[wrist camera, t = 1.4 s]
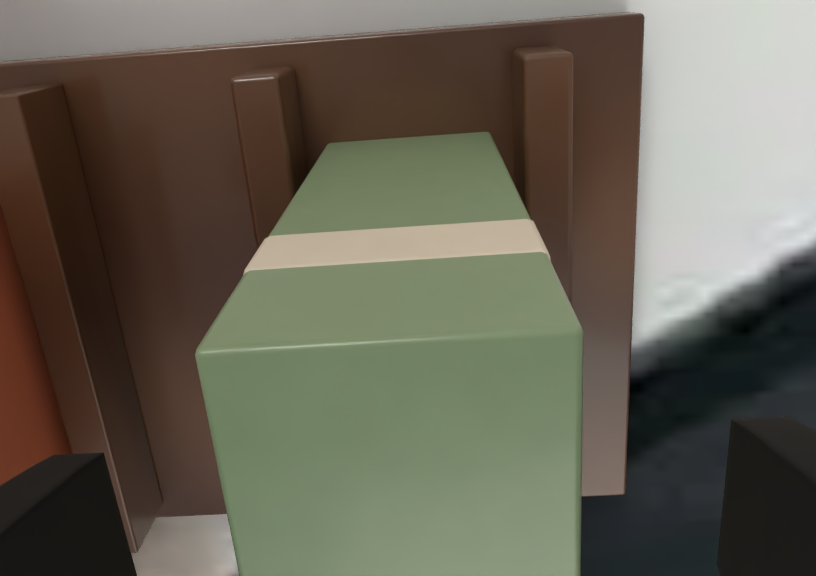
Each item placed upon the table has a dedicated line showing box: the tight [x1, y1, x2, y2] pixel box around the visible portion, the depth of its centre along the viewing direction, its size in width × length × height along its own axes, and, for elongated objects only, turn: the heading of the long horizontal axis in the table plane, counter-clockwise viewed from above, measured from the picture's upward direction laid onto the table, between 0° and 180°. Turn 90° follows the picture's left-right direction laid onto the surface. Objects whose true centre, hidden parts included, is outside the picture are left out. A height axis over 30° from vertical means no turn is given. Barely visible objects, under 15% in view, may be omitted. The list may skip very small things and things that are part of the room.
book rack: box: [0, 12, 644, 553], centre depth 12 cm, size 10×17×8 cm, turn 94°
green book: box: [195, 132, 584, 576], centre depth 11 cm, size 6×3×8 cm, turn 4°
